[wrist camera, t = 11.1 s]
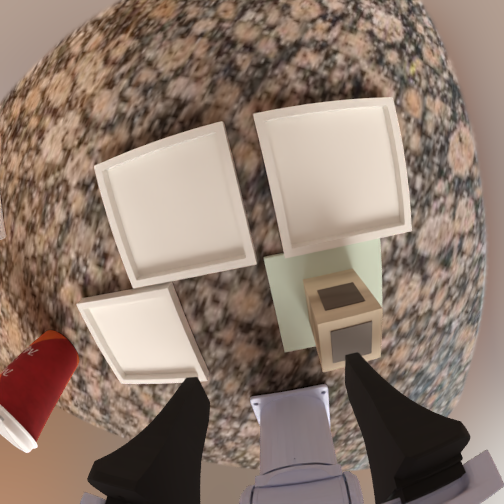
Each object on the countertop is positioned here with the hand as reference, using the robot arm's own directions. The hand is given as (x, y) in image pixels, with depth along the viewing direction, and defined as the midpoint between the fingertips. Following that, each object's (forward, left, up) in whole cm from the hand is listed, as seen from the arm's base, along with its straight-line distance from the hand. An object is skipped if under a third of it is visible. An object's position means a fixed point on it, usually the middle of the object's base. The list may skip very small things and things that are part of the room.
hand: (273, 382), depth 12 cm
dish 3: (+8, -7, -10) cm, 14 cm away
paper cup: (-4, +25, -10) cm, 27 cm away
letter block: (-2, -5, -9) cm, 11 cm away
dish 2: (-3, +12, -10) cm, 16 cm away
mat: (-2, -5, -10) cm, 11 cm away
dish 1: (+8, +5, -10) cm, 14 cm away
